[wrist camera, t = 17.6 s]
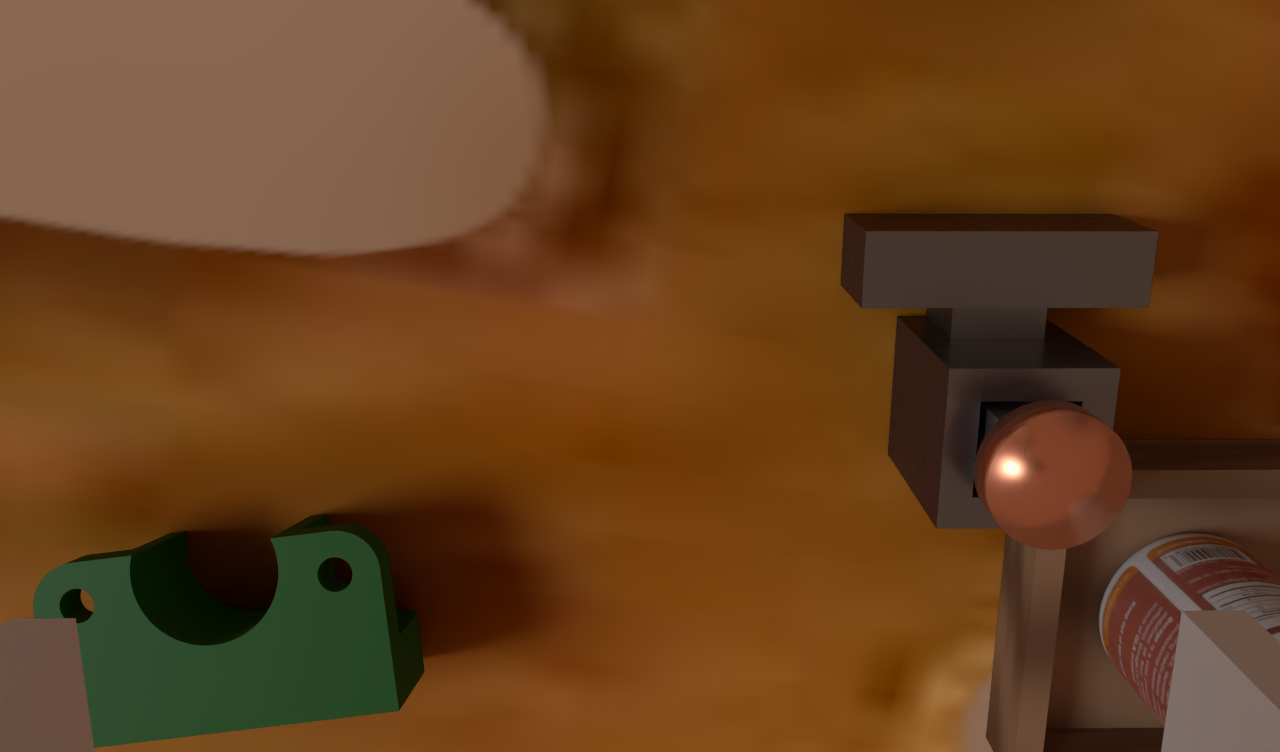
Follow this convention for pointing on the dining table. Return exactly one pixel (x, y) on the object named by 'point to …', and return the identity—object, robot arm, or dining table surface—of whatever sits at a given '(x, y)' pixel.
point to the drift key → (1050, 472)
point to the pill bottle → (1178, 604)
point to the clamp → (236, 638)
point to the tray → (1078, 577)
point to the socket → (988, 327)
